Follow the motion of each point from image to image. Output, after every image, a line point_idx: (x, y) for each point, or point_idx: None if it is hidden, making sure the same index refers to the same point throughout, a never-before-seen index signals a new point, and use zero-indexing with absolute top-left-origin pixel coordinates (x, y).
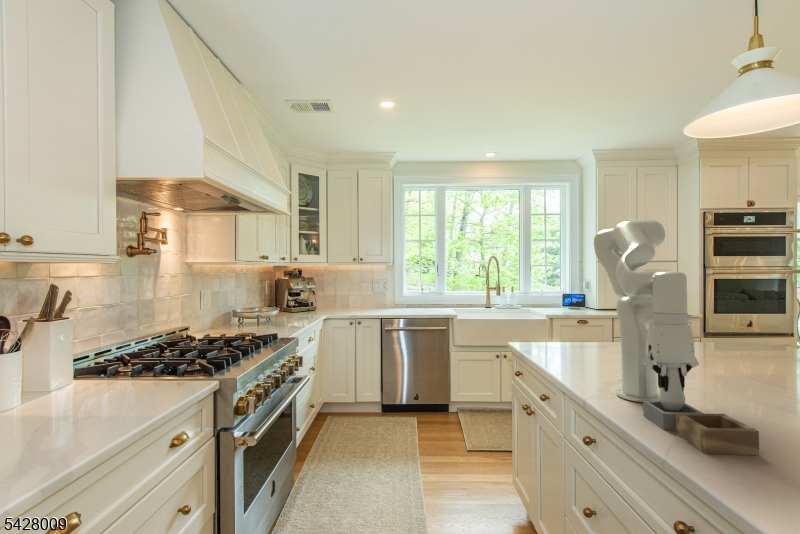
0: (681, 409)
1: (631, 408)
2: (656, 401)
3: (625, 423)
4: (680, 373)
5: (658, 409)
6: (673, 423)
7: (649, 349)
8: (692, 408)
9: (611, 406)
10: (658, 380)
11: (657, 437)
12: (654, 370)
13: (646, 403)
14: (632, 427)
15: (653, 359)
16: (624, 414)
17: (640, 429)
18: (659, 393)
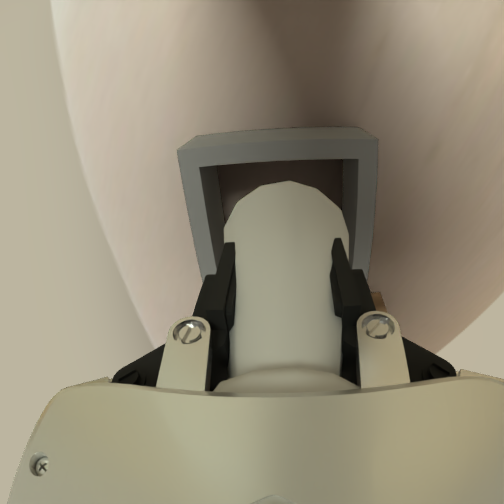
0: (351, 164)
1: (178, 41)
2: (243, 147)
3: (117, 226)
4: (346, 372)
5: (206, 266)
6: None
7: (48, 498)
8: (362, 243)
9: (106, 38)
10: (200, 301)
11: (183, 317)
12: (153, 357)
13: (182, 182)
14: (132, 257)
15: (123, 392)
16: (129, 130)
17: (152, 270)
18: (224, 241)
